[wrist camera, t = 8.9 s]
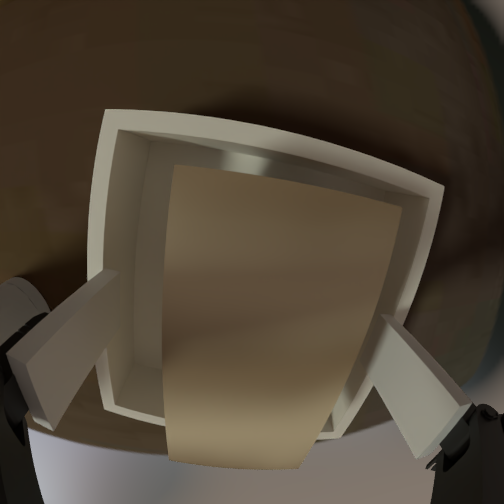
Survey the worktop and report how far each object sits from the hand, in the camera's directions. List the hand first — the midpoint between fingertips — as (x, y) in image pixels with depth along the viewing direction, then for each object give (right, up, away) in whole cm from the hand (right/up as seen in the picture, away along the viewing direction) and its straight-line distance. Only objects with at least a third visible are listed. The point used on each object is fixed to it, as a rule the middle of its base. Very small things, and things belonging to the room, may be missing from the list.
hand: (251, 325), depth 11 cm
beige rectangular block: (0, 0, +1) cm, 1 cm away
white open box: (0, +1, +5) cm, 5 cm away
